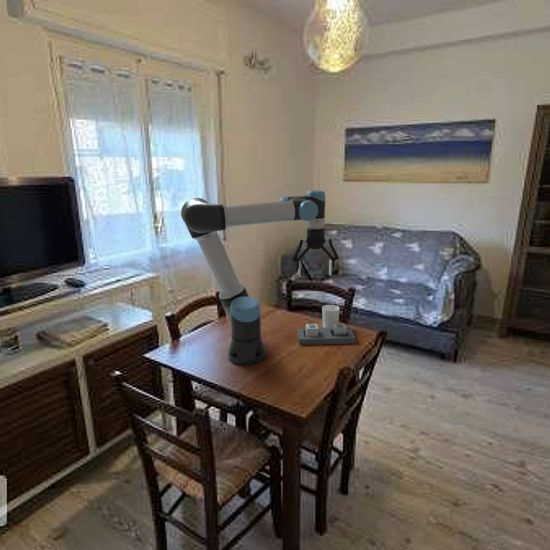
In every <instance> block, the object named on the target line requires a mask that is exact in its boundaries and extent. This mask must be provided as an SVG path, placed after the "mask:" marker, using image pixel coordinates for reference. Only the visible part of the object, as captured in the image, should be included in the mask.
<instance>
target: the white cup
mask: <svg viewBox="0 0 550 550" xmlns="http://www.w3.org/2000/svg"><path fill="white" fill-rule="evenodd" d="M321 310H322V313H321V314H322V328H333V324H338V323H339V319H340V307H339V306H338V305H334V304H326V305H323V306H322V308H321Z"/></svg>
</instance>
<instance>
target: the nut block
mask: <svg viewBox="0 0 550 550" xmlns="http://www.w3.org/2000/svg"><path fill="white" fill-rule="evenodd" d="M346 327H347V326H346V324H345V322H343V323H341V322H338V324H333V335H332V336H346V332H347V328H346Z"/></svg>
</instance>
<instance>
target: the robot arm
mask: <svg viewBox="0 0 550 550" xmlns="http://www.w3.org/2000/svg"><path fill="white" fill-rule="evenodd" d="M325 213H326V193H325V191H323V190H320V189H319V190H317V189H314V190H313V189H312V190H308V191H307V193H306V195H302V196H301V195H299V196H296V195H295V196H283V197H281V198H279V201H272V202H260V203H259V202H258V203H250V204H236V205H225V204H224V203H212V202H211V203H210V202H208V201H207V200H205V199H203V198H201V197H194V198H190V199H188V200H187V201H186V202H184V204H183V205H182V208H181V210H180V215H181V219H182V221H183V222H184V224H185V226H186V229H187V231H188V232H189V235H190V236H191V238H192V239H193V240H196V241H197V243H198V245H199V247H200V250H201V251H202V254H203V256H204V259H205V260H206V263H207V265H208V266H209V270H210V271H211V273H212V276H213V277H214V278H213V279H214V280H215V282H216V284H217V288H218V289H219V291H220V292H219V294H218V297H219V300H220V303H221V304H222V309H223V310H224V313H226V315H227V317H228V319H229V321H230V324H231V325H230V328H231V329H230V331H231V341H230V344H229V347H228V351H227V352H228V354H227V356H228V360H230V361H231V362H232V363H233V364H237V365H241V366H242V365H243V366H246V365H247V366H248V365H255V364H257V363H258V364H259V363H260V362H262V361H263V360H264V359H265V358H266V356H267V351H266V347H265V344H264V342H263V339H262V326H261V325H262V324H261V323H262V321H261V317H262V316H261V314H262V313H261V308H262V307H261V304H260V302H259V301H258V300H257V299H256V298H253V297H251V296H250V295H249V292H248V290H247V289H246V286H245V284H243V283H240V281H239V279H238V277H237V274H236V272H235V269H234V267H233V266H232V265H233V264H232V262H231V260H230V258H229V255H228V254H227V251H226V249H225V247H224V244H223V242H222V239H221V236H220V235H219V233H218V232H221V231H226V230H227V229H228V228H233V227H241V226H252V225H261V224H270V223H280V222H282V223H283V222H291V221H306V227H307V228H306V239H305V238H304V239H303V238H302V237H301V238H299V241H298V244H297V246H296V249H295V250H294V252H293V254H292V257H291V260H292V261H295V267H296V270H298V277H301V275H302V271H301V269H302V265H301V264H302V262H301V260H302V258H304V257H305V255H306V254H307V252H308V251H310V250H320V249H321V250H322V251H323V252H324V253H325V254H326V255H327V256H328V257H329V262H328V264H329V265H328V275H329V276H331V277H332V275H333V269H334V268H335V261H336V260H340V257H339V255H338V253H337V251H336V249H335V247H334V245H333V239H332V238H331V237H328V238H325V235H326V234H325V232H326V231H325V226H326V225H325V224H326V221H325V219H326V215H325ZM326 243H327V244H328V246H329V247H330V249H331V252H332V253H333V255H332V254H331V253H330V251H329V250H328V249H327V248H326V247H325V246H324V244H326ZM305 244H306V245H305ZM303 245H305V248H304V249H303V250H301V249H302V247H303ZM300 250H301V251H300Z"/></svg>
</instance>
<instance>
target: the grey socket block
mask: <svg viewBox="0 0 550 550" xmlns="http://www.w3.org/2000/svg"><path fill="white" fill-rule="evenodd" d="M346 328H347V332H346V336H333V328H323V327H319V325H318V323H306V324H305V328H296V332H297V333H296V335H297V339H298V345H300V346H301V345H302V346H304V345H334V344H335V345H337V344H341V345H342V344H356V337H355V334H354V332H353V331H352V328H351V327H350V326H349V327H348V326H346Z"/></svg>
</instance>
